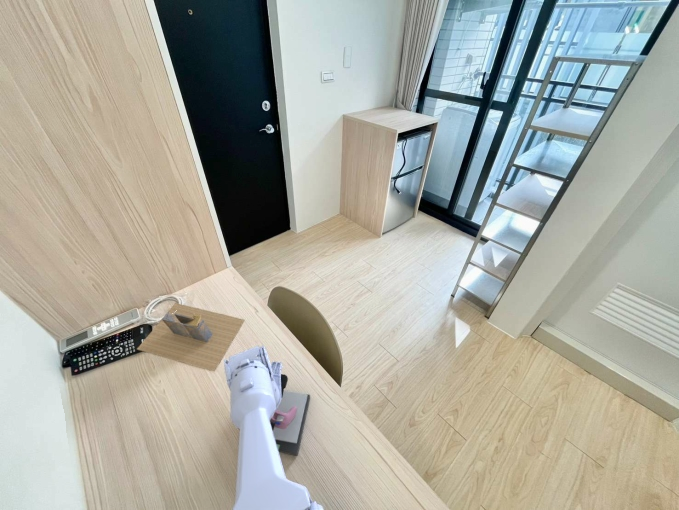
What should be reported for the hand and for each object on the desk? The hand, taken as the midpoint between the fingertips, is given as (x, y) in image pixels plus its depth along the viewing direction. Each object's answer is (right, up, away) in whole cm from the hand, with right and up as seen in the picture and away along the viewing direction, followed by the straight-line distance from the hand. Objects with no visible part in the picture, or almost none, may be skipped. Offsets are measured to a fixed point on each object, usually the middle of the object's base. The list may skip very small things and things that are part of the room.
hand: (273, 411), depth 59 cm
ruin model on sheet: (-29, +11, +20) cm, 37 cm away
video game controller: (0, -1, +1) cm, 2 cm away
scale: (0, -4, +4) cm, 6 cm away
